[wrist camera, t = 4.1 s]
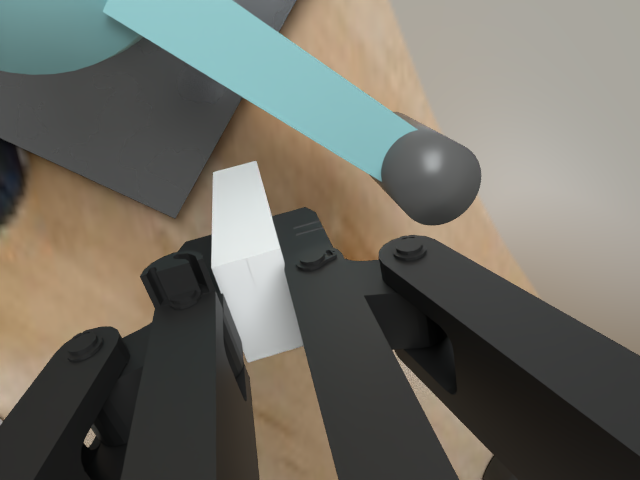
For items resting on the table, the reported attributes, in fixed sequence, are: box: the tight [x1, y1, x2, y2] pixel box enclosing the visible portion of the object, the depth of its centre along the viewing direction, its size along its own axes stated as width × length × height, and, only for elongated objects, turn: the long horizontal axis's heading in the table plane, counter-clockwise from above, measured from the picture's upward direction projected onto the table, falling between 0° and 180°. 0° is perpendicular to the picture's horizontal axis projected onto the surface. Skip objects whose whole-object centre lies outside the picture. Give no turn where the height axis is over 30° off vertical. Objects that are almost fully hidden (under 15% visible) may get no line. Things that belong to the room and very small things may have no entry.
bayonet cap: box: [0, 0, 481, 225], centre depth 13 cm, size 18×10×5 cm, turn 57°
